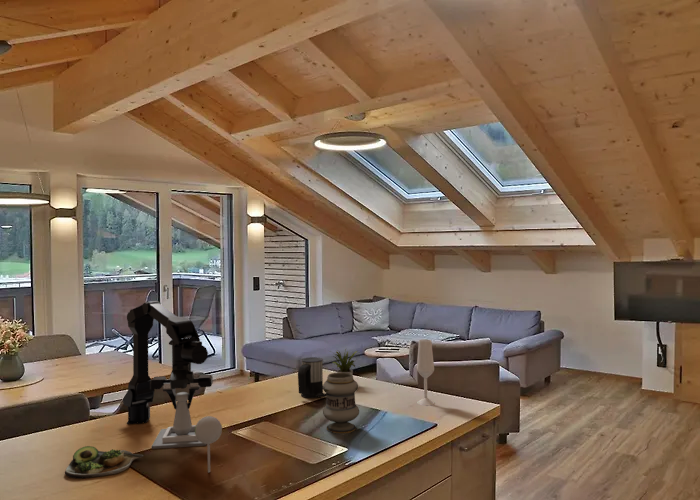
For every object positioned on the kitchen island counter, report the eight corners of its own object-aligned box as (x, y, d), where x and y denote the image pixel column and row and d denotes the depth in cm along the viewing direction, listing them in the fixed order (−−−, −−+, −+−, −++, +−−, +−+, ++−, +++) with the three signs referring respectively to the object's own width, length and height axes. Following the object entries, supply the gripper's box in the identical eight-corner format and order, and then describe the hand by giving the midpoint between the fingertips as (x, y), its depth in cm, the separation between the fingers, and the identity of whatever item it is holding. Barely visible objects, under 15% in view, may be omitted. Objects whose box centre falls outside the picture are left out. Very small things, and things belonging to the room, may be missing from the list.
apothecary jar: (315, 429, 186) (314, 375, 186) (340, 420, 195) (340, 368, 195) (341, 437, 178) (341, 380, 178) (366, 428, 187) (366, 374, 186)
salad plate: (146, 451, 168) (146, 436, 168) (138, 475, 151) (138, 458, 151) (77, 457, 164) (76, 442, 164) (60, 483, 147) (59, 465, 147)
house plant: (322, 388, 238) (322, 350, 238) (329, 380, 252) (328, 344, 252) (355, 389, 236) (355, 351, 236) (360, 381, 250) (360, 345, 249)
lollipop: (198, 467, 155) (197, 413, 155) (224, 466, 156) (223, 412, 155) (193, 478, 148) (192, 421, 148) (220, 476, 148) (219, 420, 148)
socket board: (151, 448, 170) (151, 441, 170) (161, 431, 185) (161, 424, 185) (205, 445, 172) (205, 437, 172) (210, 428, 188) (210, 421, 188)
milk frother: (304, 392, 233) (303, 356, 233) (341, 393, 231) (341, 357, 231) (295, 401, 219) (295, 363, 219) (335, 402, 217) (334, 364, 217)
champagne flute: (437, 401, 216) (436, 339, 216) (430, 406, 211) (429, 342, 211) (421, 399, 220) (420, 338, 220) (414, 403, 214) (413, 341, 214)
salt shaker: (186, 437, 175) (185, 395, 175) (169, 436, 177) (169, 395, 176) (195, 431, 181) (194, 391, 181) (178, 430, 182) (178, 390, 182)
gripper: (145, 366, 169) (146, 418, 169) (209, 364, 172) (209, 414, 172) (153, 359, 180) (153, 407, 180) (212, 356, 183) (213, 404, 183)
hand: (182, 408), depth 179 cm, fingers closed on salt shaker, 4 cm apart
